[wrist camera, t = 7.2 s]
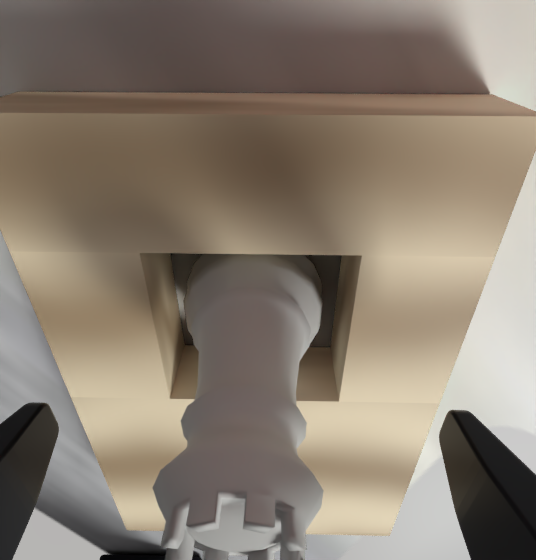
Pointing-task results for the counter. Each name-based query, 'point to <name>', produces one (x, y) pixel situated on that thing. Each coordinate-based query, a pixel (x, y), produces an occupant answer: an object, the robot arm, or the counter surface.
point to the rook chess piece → (244, 412)
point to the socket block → (260, 240)
